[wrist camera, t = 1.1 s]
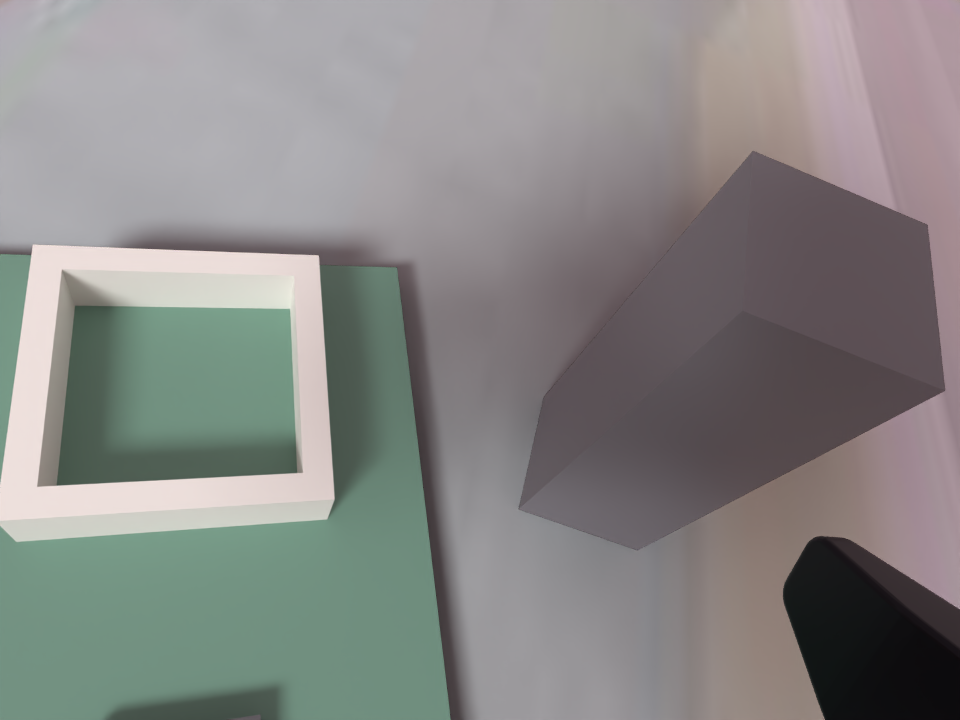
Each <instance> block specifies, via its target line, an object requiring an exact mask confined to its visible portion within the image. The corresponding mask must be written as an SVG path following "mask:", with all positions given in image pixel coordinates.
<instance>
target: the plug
mask: <svg viewBox="0 0 960 720" xmlns="http://www.w3.org/2000/svg"><path fill="white" fill-rule="evenodd" d="M944 391H945V384H944V375H943V366H942V356H941V347H940V337H939V328H938V318H937V309H936V300H935V290H934V281H933V271H932V262H931V253H930V243H929V234H928V225H927V224H925V223H922V222H920V221H917V220H915V219H913V218H910V217H908V216H906V215H903V214H901V213H899V212H896V211H894V210H892V209H889V208H887V207H884V206H882V205H880V204H877V203H875V202H873V201H870V200H868V199H866V198H863V197H861V196H858V195H856V194H854V193H851V192H849V191H847V190H844V189H842V188H840V187H837V186H835V185H833V184H830V183H828V182H825V181H823V180H821V179H818V178H816V177H814V176H811V175H809V174H807V173H804V172H802V171H800V170H797V169H795V168H792V167H790V166H788V165H785V164H783V163H781V162H778V161H776V160H774V159H771V158H769V157H766V156H764V155H762V154H759V153H757V152H755V151H752V153H751V154H750V155H749V156H748V157H747V159H746V160H745V161H744V162H743V163H742V164H741V166H740V167H739V168H738V169H737V170H736V172H735V173H734V174H733V175H732V176H731V177H730V179H729V180H728V181H727V182H726V183H725V184H724V186H723V187H722V188H721V189H720V190H719V192H718V193H717V194H716V195H715V196H714V197H713V199H712V200H711V201H710V202H709V203H708V205H707V206H706V207H705V208H704V209H703V210H702V212H701V213H700V214H699V215H698V216H697V217H696V219H695V220H694V221H693V222H692V223H691V225H690V226H689V227H688V228H687V229H686V230H685V232H684V233H683V234H682V235H681V236H680V238H679V239H678V240H677V241H676V242H675V243H674V245H673V246H672V247H671V248H670V249H669V250H668V252H667V253H666V254H665V255H664V256H663V258H662V259H661V260H660V261H659V262H658V263H657V265H656V266H655V267H654V268H653V269H652V271H651V272H650V273H649V274H648V275H647V276H646V278H645V279H644V280H643V281H642V282H641V283H640V285H639V286H638V287H637V288H636V289H635V291H634V292H633V293H632V294H631V295H630V296H629V298H628V299H627V300H626V301H625V302H624V304H623V305H622V306H621V307H620V308H619V309H618V311H617V312H616V313H615V314H614V315H613V317H612V318H611V319H610V320H609V321H608V322H607V324H606V325H605V326H604V327H603V328H602V329H601V331H600V332H599V333H598V334H597V335H596V337H595V338H594V339H593V340H592V341H591V342H590V344H589V345H588V346H587V347H586V348H585V350H584V351H583V352H582V353H581V354H580V355H579V357H578V358H577V359H576V360H575V361H574V362H573V364H572V365H571V366H570V367H569V368H568V370H567V371H566V372H565V373H564V374H563V375H562V377H561V378H560V379H559V380H558V381H557V383H556V384H555V385H554V386H553V387H552V388H551V390H550V391H549V392H548V393H547V394H546V395H545V397H544V399H543V403H542V407H541V412H540V416H539V421H538V425H537V430H536V434H535V439H534V443H533V447H532V452H531V456H530V461H529V465H528V470H527V474H526V479H525V483H524V487H523V492H522V496H521V501H520V505H519V510H522V511H525V512H528V513H531V514H534V515H537V516H540V517H543V518H546V519H549V520H551V521H554V522H557V523H560V524H563V525H566V526H569V527H572V528H575V529H578V530H581V531H583V532H586V533H589V534H592V535H595V536H598V537H601V538H604V539H607V540H610V541H613V542H615V543H618V544H621V545H624V546H627V547H630V548H633V549H636V550H639V549H641V548H643V547H645V546H647V545H649V544H651V543H653V542H655V541H656V540H658V539H660V538H662V537H664V536H666V535H668V534H670V533H672V532H674V531H676V530H678V529H680V528H682V527H683V526H685V525H687V524H689V523H691V522H693V521H695V520H697V519H699V518H701V517H703V516H705V515H707V514H709V513H710V512H712V511H714V510H716V509H718V508H720V507H722V506H724V505H726V504H728V503H730V502H732V501H734V500H735V499H737V498H739V497H741V496H743V495H745V494H747V493H749V492H751V491H753V490H755V489H757V488H759V487H761V486H762V485H764V484H766V483H768V482H770V481H772V480H774V479H776V478H778V477H780V476H782V475H784V474H786V473H787V472H789V471H791V470H793V469H795V468H797V467H799V466H801V465H803V464H805V463H807V462H809V461H811V460H813V459H814V458H816V457H818V456H820V455H822V454H824V453H826V452H828V451H830V450H832V449H834V448H836V447H838V446H840V445H841V444H843V443H845V442H847V441H849V440H851V439H853V438H855V437H857V436H859V435H861V434H863V433H865V432H866V431H868V430H870V429H872V428H874V427H876V426H878V425H880V424H882V423H884V422H886V421H888V420H890V419H892V418H893V417H895V416H897V415H899V414H901V413H903V412H905V411H907V410H909V409H911V408H913V407H915V406H917V405H919V404H920V403H922V402H924V401H926V400H928V399H930V398H932V397H934V396H936V395H938V394H940V393H942V392H944Z"/></svg>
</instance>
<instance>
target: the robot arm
mask: <svg viewBox="0 0 960 720" xmlns="http://www.w3.org/2000/svg"><path fill="white" fill-rule="evenodd" d="M783 600H784V605H785V608H786V611H787V614H788V616H789V619H790V622H791V625H792V628H793V631H794V634H795V637H796V639H797V642H798V645H799V648H800V651H801V654H802V657H803V660H804V662H805V665H806V668H807V671H808V674H809V677H810V680H811V683H812V685H813V688H814V691H815V694H816V697H817V700H818V703H819V705H820V708H821V711H822V713H823V716H824V719H825V720H960V609H958V608H957V607H955V606H953V605H952V604H950V603H949V602H947V601H946V600H944V599H942V598H941V597H939V596H938V595H936V594H935V593H933V592H931V591H930V590H928V589H927V588H925V587H924V586H922V585H920V584H919V583H917V582H916V581H914V580H912V579H911V578H909V577H908V576H906V575H905V574H903V573H901V572H900V571H898V570H897V569H895V568H894V567H892V566H890V565H889V564H887V563H886V562H884V561H883V560H881V559H879V558H878V557H876V556H875V555H873V554H872V553H870V552H868V551H867V550H865V549H864V548H862V547H860V546H859V545H857V544H856V543H854V542H852V541H851V540H848V539H845V538H839V537H825V536H819V537H815V538H813V539H812V540H810V541H809V542H808V544H807V545H806V547H805V548H804V550H803V552H802V554H801V555H800V557H799V559H798V560H797V562H796V564H795V566H794V567H793V569H792V571H791V573H790V574H789V576H788V578H787V580H786V582H785V584H784V588H783Z"/></svg>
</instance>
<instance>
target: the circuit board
mask: <svg viewBox="0 0 960 720" xmlns="http://www.w3.org/2000/svg"><path fill="white" fill-rule="evenodd" d="M0 720H451V718H450V710H449V701H448V693H447V684H446V676H445V667H444V659H443V651H442V642H441V634H440V625H439V617H438V608H437V600H436V592H435V583H434V575H433V566H432V558H431V549H430V541H429V533H428V524H427V516H426V507H425V499H424V491H423V482H422V474H421V465H420V457H419V448H418V440H417V432H416V423H415V415H414V406H413V398H412V389H411V381H410V373H409V364H408V356H407V347H406V339H405V331H404V322H403V314H402V305H401V297H400V288H399V280H398V272H397V267H367V266H337V265H319V255H293V254H267V253H240V252H214V251H187V250H160V249H134V248H107V247H81V246H54V245H33V247H32V255H11V254H0Z"/></svg>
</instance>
